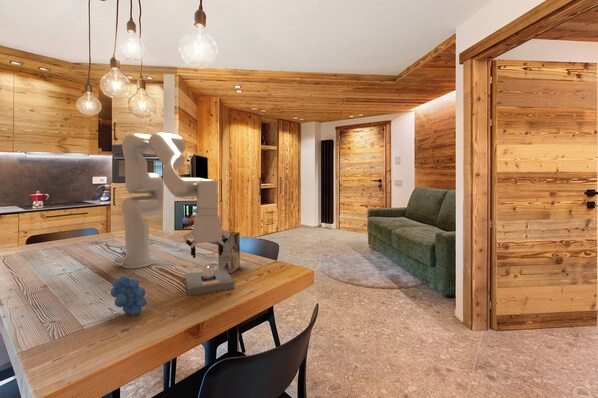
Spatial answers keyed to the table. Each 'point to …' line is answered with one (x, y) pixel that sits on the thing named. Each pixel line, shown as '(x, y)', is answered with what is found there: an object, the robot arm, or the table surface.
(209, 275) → the peg
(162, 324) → the table surface
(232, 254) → the coffee box
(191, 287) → the hole board
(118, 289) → the grapes
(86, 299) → the table surface
